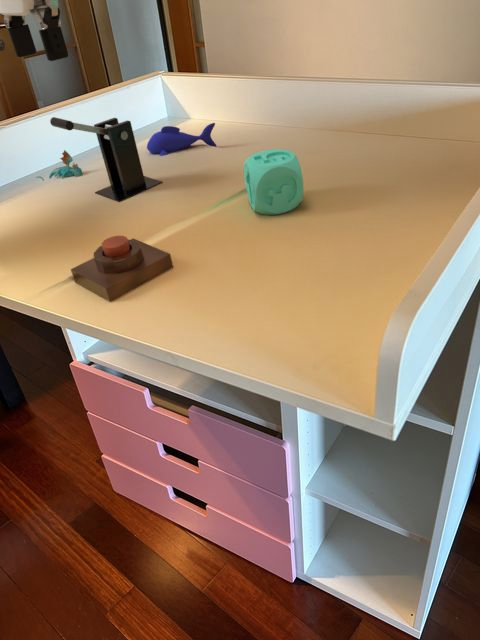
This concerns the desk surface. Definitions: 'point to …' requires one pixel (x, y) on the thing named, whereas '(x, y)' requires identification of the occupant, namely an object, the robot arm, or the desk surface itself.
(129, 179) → the switch bracket
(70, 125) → the switch lever
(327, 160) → the desk surface
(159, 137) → the fish toy
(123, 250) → the button
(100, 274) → the button block
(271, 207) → the decorative dice
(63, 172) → the dragon figurine
